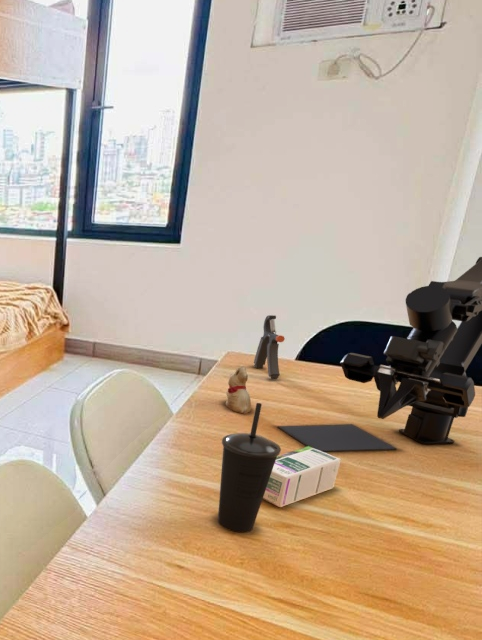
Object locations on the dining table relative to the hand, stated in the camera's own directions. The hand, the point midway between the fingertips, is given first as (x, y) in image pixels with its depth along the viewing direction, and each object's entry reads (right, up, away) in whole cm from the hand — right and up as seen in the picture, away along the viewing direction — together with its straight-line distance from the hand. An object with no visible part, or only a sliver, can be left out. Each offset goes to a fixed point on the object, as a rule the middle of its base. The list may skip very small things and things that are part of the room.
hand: (380, 417), depth 109 cm
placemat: (+4, -5, +17) cm, 18 cm away
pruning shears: (+13, +9, +56) cm, 58 cm away
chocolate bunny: (-7, +1, +34) cm, 34 cm away
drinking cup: (-32, -16, -12) cm, 38 cm away
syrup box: (-11, -9, -1) cm, 14 cm away
